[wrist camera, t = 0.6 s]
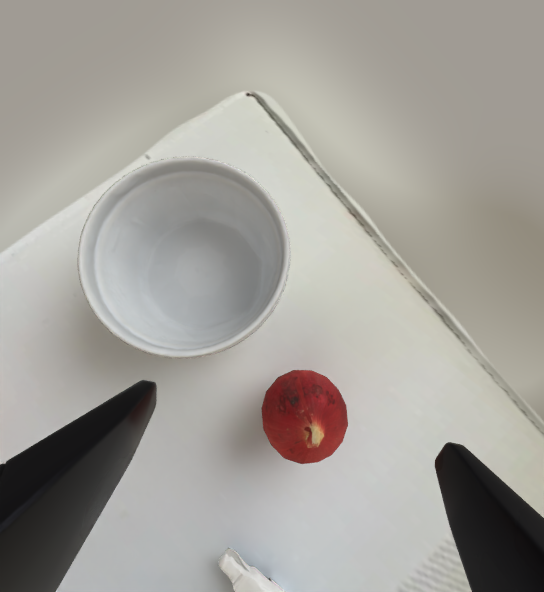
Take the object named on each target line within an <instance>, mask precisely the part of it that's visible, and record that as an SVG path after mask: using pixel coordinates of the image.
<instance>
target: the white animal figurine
mask: <svg viewBox="0 0 544 592" xmlns="http://www.w3.org/2000/svg"><path fill="white" fill-rule="evenodd" d="M218 566H219V567H220V568H221V570H222V571H223V572H224V573H225V574H226V575H227V576H228V577H229V579H230V581H231V582H232V584H233V588H234V590H235V592H285V591H284V590H283V589H282V588H281V587H280V586H279V585H278V584H277V583H275V582H274V581H273V580H272V579H271V578H269V579H268V578H266V577H265V576H263V575H262V574H261V573H260V572H259V571H258V570H257V568H256V567H254V566H251V567H250V566H249V565H247V564H246V563H245V562H244V561H243V559H242V558H241V557H240V556H239V554H238V553H237V552H236V551H235V550H232V549H230V548H228V549H227V550H226V554H224V555H223V556H222V557H220V559H219V562H218Z"/></svg>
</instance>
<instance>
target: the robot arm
mask: <svg viewBox="0 0 544 592" xmlns="http://www.w3.org/2000/svg"><path fill="white" fill-rule="evenodd" d="M156 392H157V386H156V383H155V382H152V381H147V380H142V381H139V382H138V383H136V384H134V385H133V386H131V387H129V388H128V389H126V390H124V391H123V392H121V393H119V394H118V395H116V396H114V397H113V398H111V399H109V400H108V401H106V402H104V403H103V404H101V405H99V406H98V407H96V408H94V409H93V410H91V411H89V412H88V413H86V414H84V415H83V416H81V417H79V418H78V419H76V420H74V421H73V422H71V423H69V424H68V425H66V426H64V427H63V428H61V429H59V430H58V431H56V432H54V433H53V434H51V435H49V436H48V437H46V438H44V439H43V440H41V441H39V442H38V443H36V444H34V445H33V446H31V447H29V448H28V449H26V450H24V451H23V452H21V453H19V454H18V455H16V456H14V457H13V458H11V459H9V460H8V461H7V462H6V464H1V465H0V592H56V590H57V588H58V587H59V585H60V583H61V581H62V580H63V578H64V576H65V574H66V573H67V571H68V569H69V568H70V566H71V564H72V562H73V561H74V559H75V557H76V555H77V554H78V552H79V550H80V549H81V547H82V545H83V543H84V542H85V540H86V538H87V536H88V535H89V533H90V531H91V530H92V528H93V526H94V524H95V523H96V521H97V519H98V517H99V516H100V514H101V512H102V511H103V509H104V507H105V505H106V504H107V502H108V500H109V498H110V497H111V495H112V493H113V491H114V490H115V488H116V486H117V485H118V483H119V481H120V479H121V478H122V476H123V474H124V472H125V471H126V469H127V467H128V465H129V464H130V462H131V460H132V458H133V456H134V454H135V451H136V449H137V447H138V445H139V443H140V440H141V438H142V436H143V434H144V432H145V429H146V427H147V425H148V423H149V421H150V418H151V416H152V414H153V412H154V409H155V406H156ZM435 469H436V473H437V477H438V481H439V485H440V489H441V493H442V498H443V502H444V506H445V510H446V514H447V517H448V521H449V525H450V528H451V531H452V534H453V537H454V540H455V543H456V546H457V549H458V552H459V555H460V558H461V561H462V564H463V567H464V570H465V573H466V576H467V579H468V581H469V584H470V587H471V590H472V592H544V518H543V517H542V516H541V515H540V514H539V513H537V512H536V511H535V510H534V509H533V508H532V507H531V506H530V505H529V504H527V503H526V502H525V501H524V500H523V499H522V498H521V497H520V496H519V495H517V494H516V493H515V492H514V491H513V490H512V489H511V488H510V487H509V486H508V485H506V484H505V483H504V482H503V481H502V480H501V479H500V478H499V477H498V476H496V475H495V474H494V473H493V472H492V471H491V470H490V469H489V468H488V467H487V466H485V465H484V464H483V463H482V462H481V461H480V460H479V459H478V458H477V457H475V456H474V455H473V454H472V453H471V452H470V451H469V450H468V449H467V448H465V447H464V446H463V445H460V444H456V443H451V442H448V443H446V444H445V445H444V447H443V448H442V450H441V451H440V453H439V454H438V456H437V457H436V460H435Z"/></svg>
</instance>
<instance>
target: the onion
mask: <svg viewBox="0 0 544 592" xmlns="http://www.w3.org/2000/svg"><path fill="white" fill-rule="evenodd" d="M262 419H263V429H264V431H265V433H266V435H267V437H268V439H269V441H270V443H271V445H272V446H273V447H274V448H275V449H276V450H277V451H278V452H279V453H280V454H281V456H282V457H283V458H285V459H288V460H291V461H294V462H297V463H300V464H305V463H315V462H319V461H321V460H323V459H325V458H327V457H329V456H331V455H332V454H333V453H334V452H335V450H336V449H337V448H338V447H339V445H340V444H341V443H342V442H343V438H344V435H345V432H346V429H347V426H348V420H347V410H346V404H345V402H344V400H343V398H342V396H341V394H340V392H339V390H338V389H337V388H336V387H335V386H334V384H333V383H332V382H331V381H330V380H329V379H328V378H327V377H325V376H323V375H321V374H318V373H316V372H314V371H310V370H293V371H291V372H289V373H287V374H284V375H282V376H280V377H278V378H277V379H276V380H275V382H274V383H273V384H272V385H271V387H270V388H269V389H268V390H267V391H266V394H265V398H264V402H263V405H262Z"/></svg>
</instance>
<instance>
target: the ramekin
mask: <svg viewBox="0 0 544 592" xmlns="http://www.w3.org/2000/svg"><path fill="white" fill-rule="evenodd" d="M289 266H290V240H289V234H288V230H287V226H286V223H285V220H284V218H283V215H282V213H281V211H280V209H279V207H278V206H277V204H276V202H275V201H274V199H273V198H272V197H271V196H270V194H269V193H268V192H267V191H266V190H265V189H264V188H263V187H262V186H261V185H260V184H259V183H258V182H257V181H256V180H255V179H253V178H252V177H251V176H250V175H248V174H247V173H245V172H243V171H242V170H240V169H238V168H236V167H234V166H231V165H229V164H226V163H223V162H221V161H217V160H214V159H209V158H202V157H173V158H167V159H161V160H159V161H155V162H151V163H149V164H146V165H144V166H142V167H139V168H137V169H135V170H133V171H132V172H130V173H128V174H127V175H125V176H124V177H122V178H121V179H120V180H118V181H117V182H116V183H114V185H112V186H111V187H110V188H109V189H108V190H107V191H106V192H105V193H104V194H103V195H102V196H101V198H100V199H99V200H98V202H97V203H96V204H95V205H94V207H93V209H92V211H91V212H90V214H89V216H88V218H87V220H86V223H85V225H84V227H83V230H82V233H81V237H80V242H79V248H78V271H79V278H80V283H81V286H82V289H83V292H84V295H85V297H86V299H87V301H88V303H89V305H90V307H91V309H92V310H93V312H94V314H95V315H96V316H97V317H98V319H99V320H100V321H101V322H102V324H103V325H104V326H105V327H106V328H107V329H108V330H109V331H110V332H111V333H112V334H114V335H115V336H116V337H118V338H119V339H120V340H122V341H123V342H125V343H127V344H128V345H130V346H132V347H134V348H136V349H138V350H141V351H143V352H146V353H149V354H153V355H157V356H162V357H168V358H197V357H203V356H208V355H212V354H216V353H219V352H221V351H224V350H227V349H229V348H231V347H233V346H235V345H237V344H238V343H240V342H242V341H243V340H245V339H246V338H248V337H249V336H250V335H251V334H253V333H254V332H255V331H256V330H257V329H258V328H259V327H260V326H261V325H262V324H263V323H264V322H265V321H266V320H267V318H268V317H269V316H270V314H271V313H272V312H273V310H274V309H275V307H276V305H277V304H278V302H279V300H280V298H281V296H282V293H283V291H284V288H285V285H286V281H287V277H288V272H289Z"/></svg>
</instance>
